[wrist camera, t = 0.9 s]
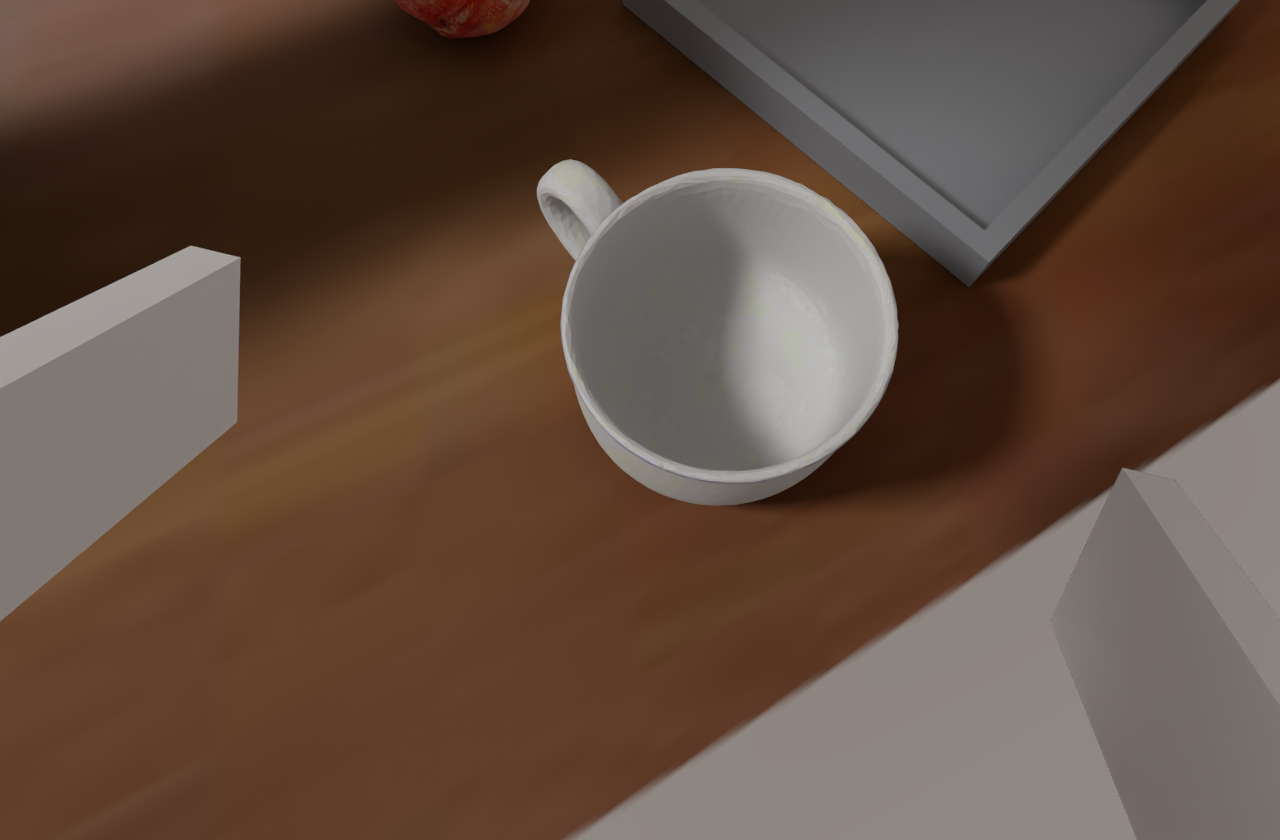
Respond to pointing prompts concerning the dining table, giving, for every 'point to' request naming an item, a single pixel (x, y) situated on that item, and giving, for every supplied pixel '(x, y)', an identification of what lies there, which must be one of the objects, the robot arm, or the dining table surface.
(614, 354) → the teacup
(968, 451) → the dining table surface
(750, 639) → the dining table surface
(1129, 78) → the tray
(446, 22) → the pomegranate
